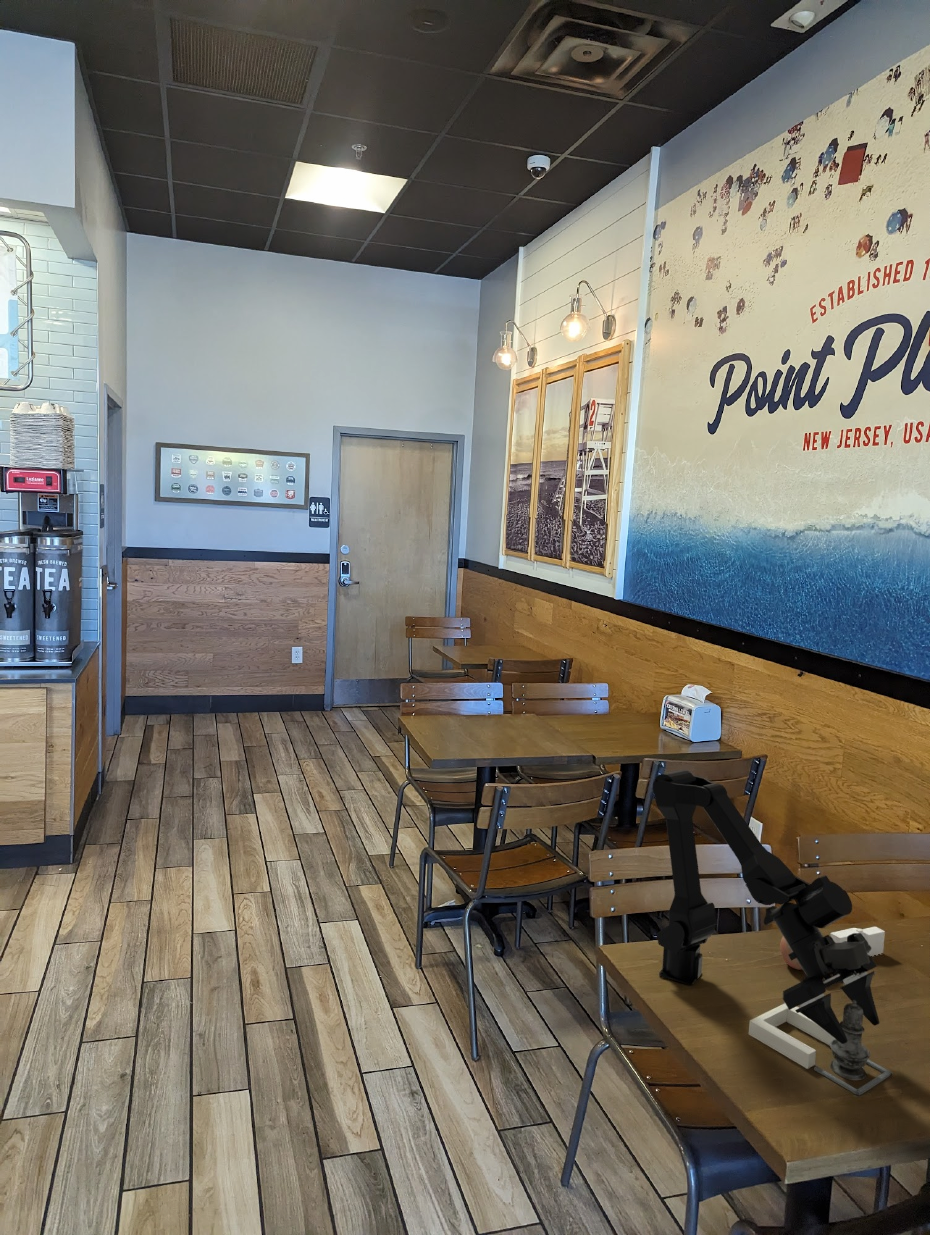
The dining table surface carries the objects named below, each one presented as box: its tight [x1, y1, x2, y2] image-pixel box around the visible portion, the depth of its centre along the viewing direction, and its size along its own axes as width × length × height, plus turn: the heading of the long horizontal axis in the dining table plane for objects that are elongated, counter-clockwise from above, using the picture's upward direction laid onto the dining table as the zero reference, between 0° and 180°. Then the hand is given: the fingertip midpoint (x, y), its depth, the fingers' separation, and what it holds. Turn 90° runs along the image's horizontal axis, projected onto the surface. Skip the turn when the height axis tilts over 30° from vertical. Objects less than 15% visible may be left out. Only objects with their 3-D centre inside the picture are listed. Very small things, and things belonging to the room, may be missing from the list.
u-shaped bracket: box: [748, 1002, 835, 1070], centre depth 147 cm, size 11×11×2 cm
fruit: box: [779, 936, 803, 971], centre depth 172 cm, size 8×8×8 cm
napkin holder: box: [829, 926, 886, 957], centre depth 177 cm, size 15×11×6 cm
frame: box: [813, 1059, 893, 1097], centre depth 139 cm, size 8×10×1 cm
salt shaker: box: [829, 1000, 871, 1081], centre depth 139 cm, size 6×6×12 cm
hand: (861, 1033), depth 137 cm, fingers open, 9 cm apart
